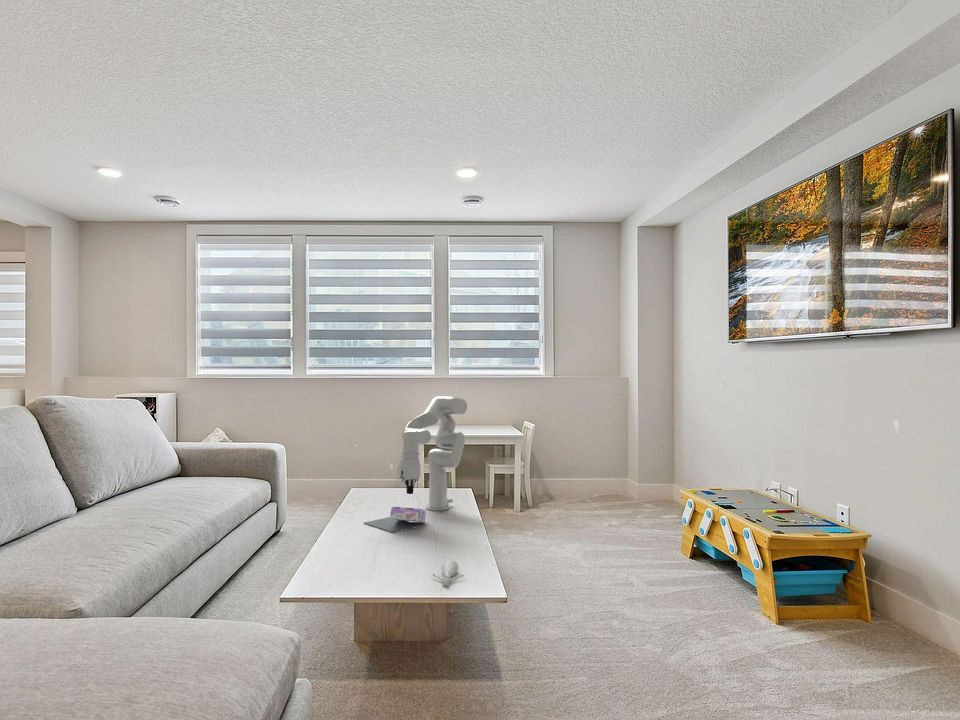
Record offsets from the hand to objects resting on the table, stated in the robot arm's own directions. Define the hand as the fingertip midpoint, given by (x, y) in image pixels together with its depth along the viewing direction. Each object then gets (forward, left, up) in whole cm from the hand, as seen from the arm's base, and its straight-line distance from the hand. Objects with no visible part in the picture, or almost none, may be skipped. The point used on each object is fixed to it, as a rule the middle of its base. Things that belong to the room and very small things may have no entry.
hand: (409, 493), depth 287 cm
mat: (+11, 0, -13) cm, 17 cm away
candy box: (-1, +1, -10) cm, 10 cm away
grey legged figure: (+40, +69, -14) cm, 81 cm away
